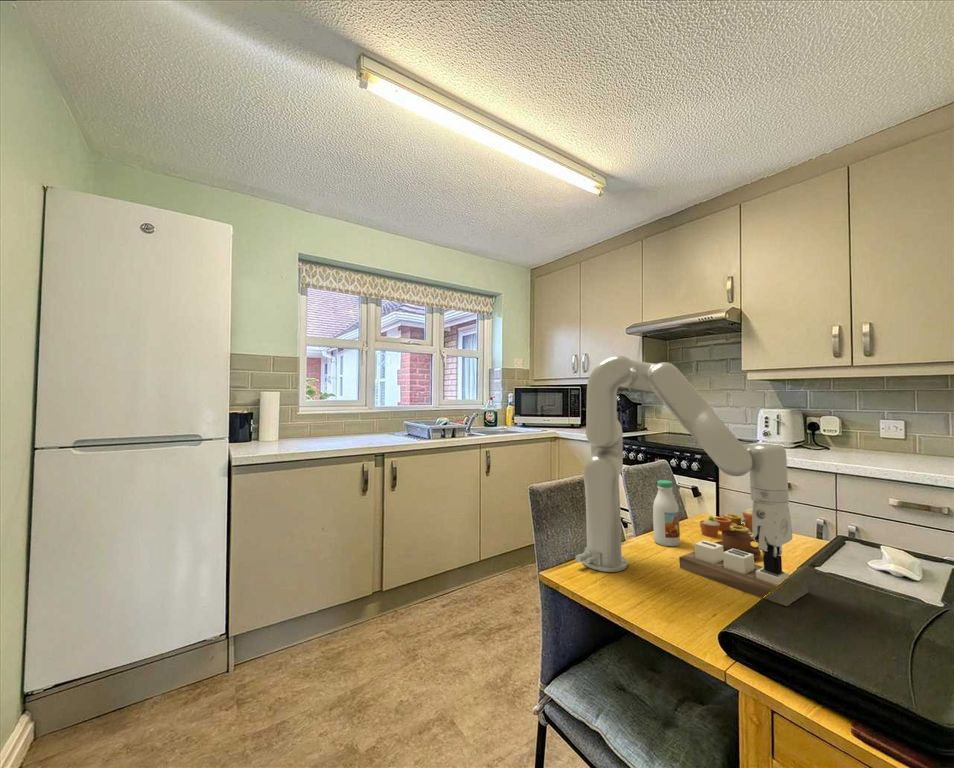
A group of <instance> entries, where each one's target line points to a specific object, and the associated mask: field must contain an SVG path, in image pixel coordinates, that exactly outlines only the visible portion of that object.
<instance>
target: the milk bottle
mask: <svg viewBox="0 0 954 768" xmlns="http://www.w3.org/2000/svg"><path fill="white" fill-rule="evenodd" d="M673 486H674V485H673V482H672V481H671V480H666V479H665V480H664V479H663V480H662V479H660V480H657V489H658V491H657V494H656V496H655V498H654V501H653V506H652V521H653V540H654V542H655V543H656V544H657V543H658V545H661V546H664V547H677V546H679V545H680V543H681V532H680V530H681V529H680V512H679V511H680V509H679V505H678V501H677V500H676V498H675V495H674V494H673V493H674V492H673Z"/></svg>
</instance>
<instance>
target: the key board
mask: <svg viewBox="0 0 954 768" xmlns="http://www.w3.org/2000/svg"><path fill="white" fill-rule="evenodd" d="M678 560H679V568H680V569H681V570H685V571H687V572H689V573H693V574H695V575H698V576H701V577H702V578H703V577H704V578H706V579H708V580H712V581H715V582H717V583H719V584H722V585H725V586H727V587H731V588H732V589H736V590H739V591H742V592H744V593H747V594H748V595H751V596H755V597H757V598H760V599H763V597H764V596H765V595H767V594H768V593H769V592H771V591H772V590H774V589H775V588H776V587H777V586H778V585H775V584H772V583H769V582H766V581H763V580H760V579H757V578H756V571H757V570H759V569H761V568H763V567H764V565H763V566H762V565H759V564H756V563H754V571H752V572H750V573H748V574H746V575H745V574H742V573H739V572H736V571H733V570H730V569H727V568H724V561H721V562H719V563H716V564H712V563H709V562H706V561H703V560H700V559H697V558H695V550H693V551H692V552H689V553H686V554H683V555H681V556H679V557H678ZM790 575H791V574H789V576H790Z"/></svg>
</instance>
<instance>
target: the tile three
mask: <svg viewBox="0 0 954 768" xmlns="http://www.w3.org/2000/svg"><path fill="white" fill-rule="evenodd" d="M789 575H790V573H788V572H785V571H783V570H782V572H781V573H779V574H776V573H773V572H770V571H766V570H765V569H764V566H763V568H761V569H759V570H757V571H756V578H757V579H760V580H763V581H766V582H769V583H772V584H775V585H779V584H781V583H782V582H783V581H784V580H785V579H787V578H788V577H789Z"/></svg>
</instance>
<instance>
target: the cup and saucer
mask: <svg viewBox="0 0 954 768" xmlns="http://www.w3.org/2000/svg"><path fill="white" fill-rule="evenodd" d="M751 537H752V535H749V534H747V533H744V532H741V531H735V530H724V531H721V540H719V541H716V542H714V543H716V544H719V545H723V552H725V551H728V550H730V549H737V550H740V551H744V552H747V553H750V554H754V559H757V558H758V557H760V556H761V554H762V550H759V548H758V546H759V542H757V546H753V545H752V542H755V541H754V539H753V538H752V539H751Z"/></svg>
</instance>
